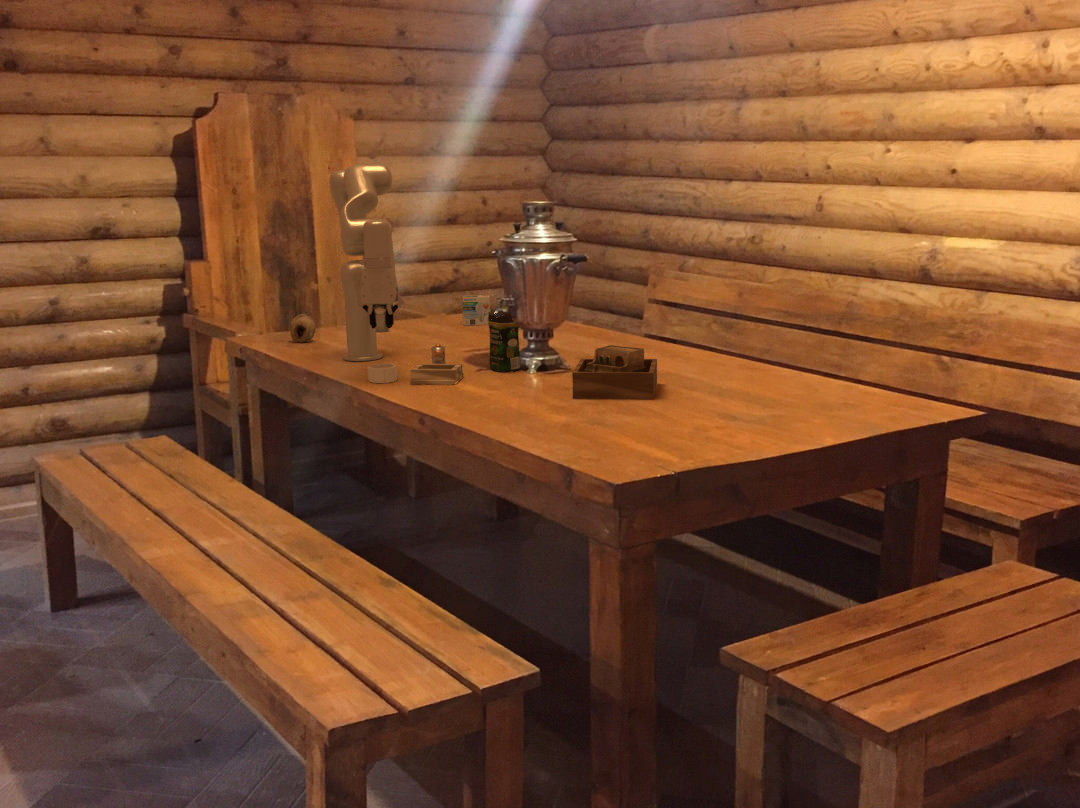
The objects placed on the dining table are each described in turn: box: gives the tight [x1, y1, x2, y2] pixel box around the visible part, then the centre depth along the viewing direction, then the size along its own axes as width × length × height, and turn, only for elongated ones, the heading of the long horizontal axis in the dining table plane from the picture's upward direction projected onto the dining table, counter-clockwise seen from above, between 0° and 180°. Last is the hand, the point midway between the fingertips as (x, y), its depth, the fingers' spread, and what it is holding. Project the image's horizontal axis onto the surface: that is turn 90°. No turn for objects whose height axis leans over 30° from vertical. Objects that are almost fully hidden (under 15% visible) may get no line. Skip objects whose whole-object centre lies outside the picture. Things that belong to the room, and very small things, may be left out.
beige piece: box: [367, 362, 398, 384], centre depth 336 cm, size 8×8×4 cm
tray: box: [409, 363, 464, 386], centre depth 335 cm, size 12×13×4 cm
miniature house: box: [584, 344, 647, 372], centre depth 316 cm, size 15×14×11 cm
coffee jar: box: [488, 308, 521, 373], centre depth 347 cm, size 10×8×19 cm
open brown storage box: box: [572, 358, 658, 400], centre depth 315 cm, size 20×21×7 cm
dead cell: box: [374, 304, 390, 334], centre depth 333 cm, size 4×4×9 cm
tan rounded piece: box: [289, 313, 317, 344], centre depth 407 cm, size 10×8×10 cm
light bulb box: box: [462, 294, 491, 326], centre depth 440 cm, size 11×7×11 cm, turn 95°
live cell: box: [430, 343, 447, 364], centre depth 345 cm, size 4×4×9 cm
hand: (381, 327), depth 334 cm, fingers closed on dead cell, 4 cm apart
